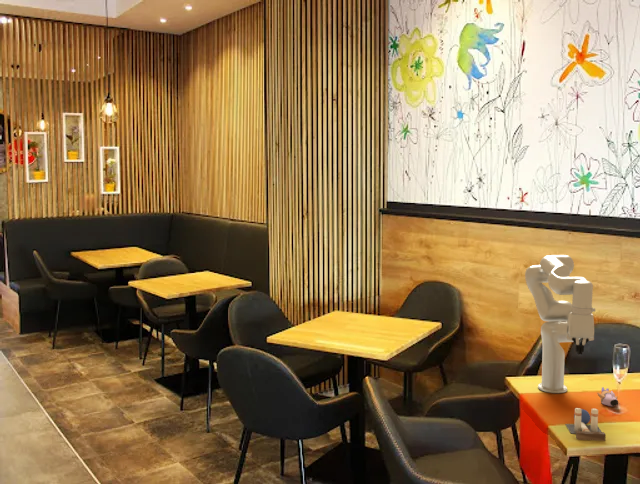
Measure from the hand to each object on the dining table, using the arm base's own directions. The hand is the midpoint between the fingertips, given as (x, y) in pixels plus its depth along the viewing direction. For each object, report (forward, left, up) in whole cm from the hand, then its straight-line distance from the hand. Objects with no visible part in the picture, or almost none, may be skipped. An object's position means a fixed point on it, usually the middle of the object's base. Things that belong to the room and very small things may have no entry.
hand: (579, 353), depth 270 cm
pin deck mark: (+22, -3, -24) cm, 33 cm away
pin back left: (+24, 0, -24) cm, 34 cm away
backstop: (+31, -3, -24) cm, 39 cm away
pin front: (+21, -4, -23) cm, 31 cm away
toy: (-8, +15, -24) cm, 30 cm away
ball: (+17, -2, -21) cm, 27 cm away
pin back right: (+24, -6, -24) cm, 35 cm away
